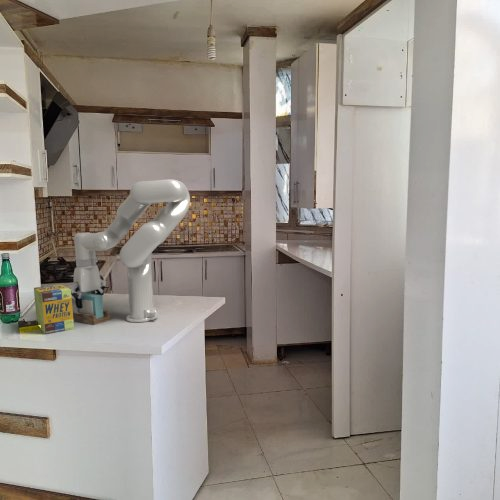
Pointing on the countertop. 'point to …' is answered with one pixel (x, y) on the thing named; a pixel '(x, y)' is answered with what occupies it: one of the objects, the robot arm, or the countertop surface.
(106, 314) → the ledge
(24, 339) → the countertop surface
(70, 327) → the protein box
